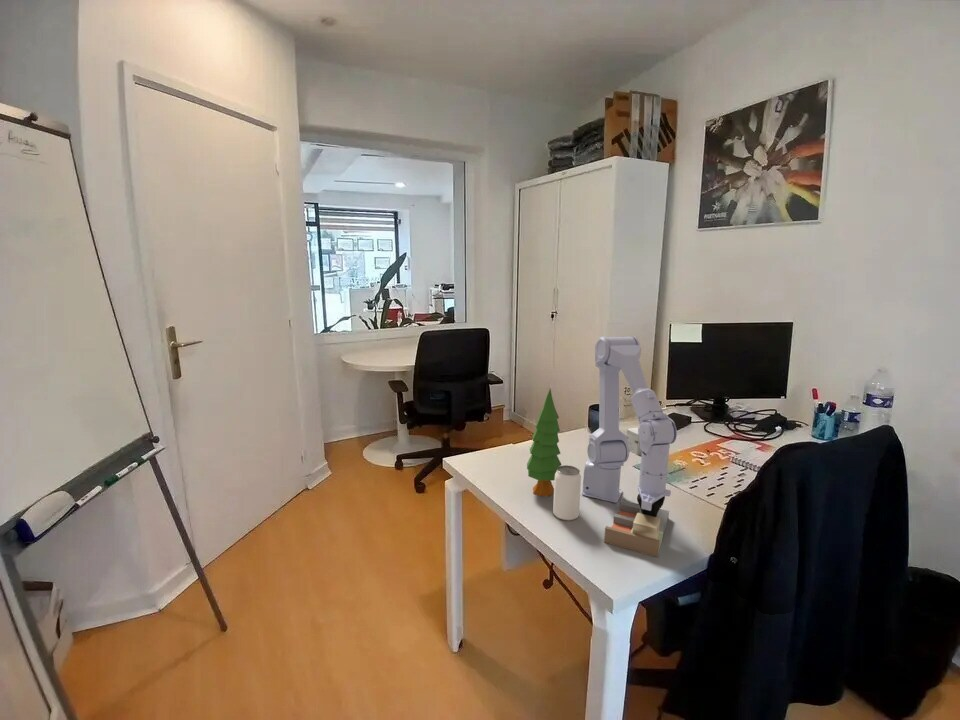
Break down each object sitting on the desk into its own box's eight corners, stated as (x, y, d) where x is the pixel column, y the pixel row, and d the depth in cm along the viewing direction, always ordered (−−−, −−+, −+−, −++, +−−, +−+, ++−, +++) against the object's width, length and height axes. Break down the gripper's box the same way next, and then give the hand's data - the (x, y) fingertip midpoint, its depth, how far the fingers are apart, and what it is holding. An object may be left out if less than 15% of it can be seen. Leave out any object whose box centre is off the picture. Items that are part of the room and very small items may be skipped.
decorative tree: (550, 502, 125) (555, 393, 119) (518, 493, 129) (521, 387, 124) (563, 488, 133) (569, 385, 127) (533, 480, 138) (537, 380, 132)
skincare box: (624, 448, 163) (626, 428, 162) (638, 446, 166) (640, 426, 164) (636, 455, 158) (638, 434, 156) (651, 452, 160) (652, 432, 159)
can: (575, 508, 122) (578, 464, 120) (581, 521, 116) (584, 475, 113) (550, 508, 122) (552, 464, 119) (555, 521, 115) (557, 475, 113)
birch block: (631, 539, 105) (633, 522, 104) (636, 528, 109) (637, 512, 108) (655, 545, 102) (657, 528, 102) (658, 534, 107) (660, 518, 106)
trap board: (604, 542, 107) (605, 528, 106) (621, 506, 123) (622, 494, 122) (657, 557, 102) (658, 542, 101) (668, 518, 118) (669, 505, 117)
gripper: (668, 486, 98) (662, 545, 101) (676, 462, 111) (670, 515, 113) (633, 479, 102) (628, 536, 104) (645, 456, 114) (640, 508, 117)
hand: (648, 525), depth 109 cm, fingers closed
